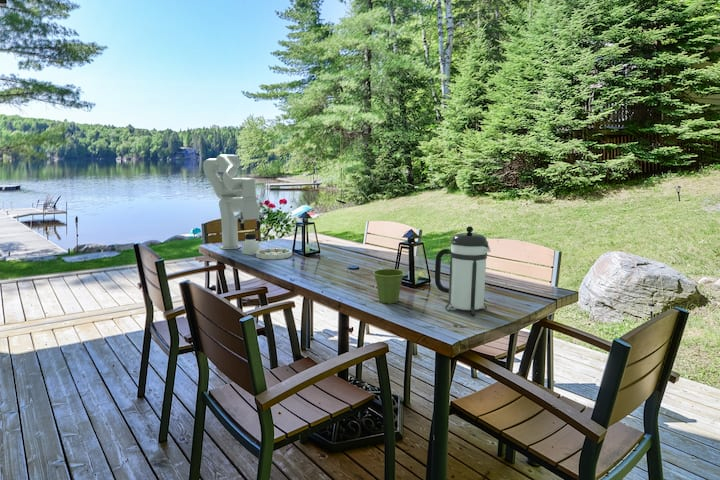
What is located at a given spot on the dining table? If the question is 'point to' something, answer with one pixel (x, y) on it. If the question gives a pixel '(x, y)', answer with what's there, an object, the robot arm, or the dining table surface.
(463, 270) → the coffee press
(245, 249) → the medicine bottle
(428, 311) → the dining table surface
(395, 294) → the plant pot
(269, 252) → the tray
